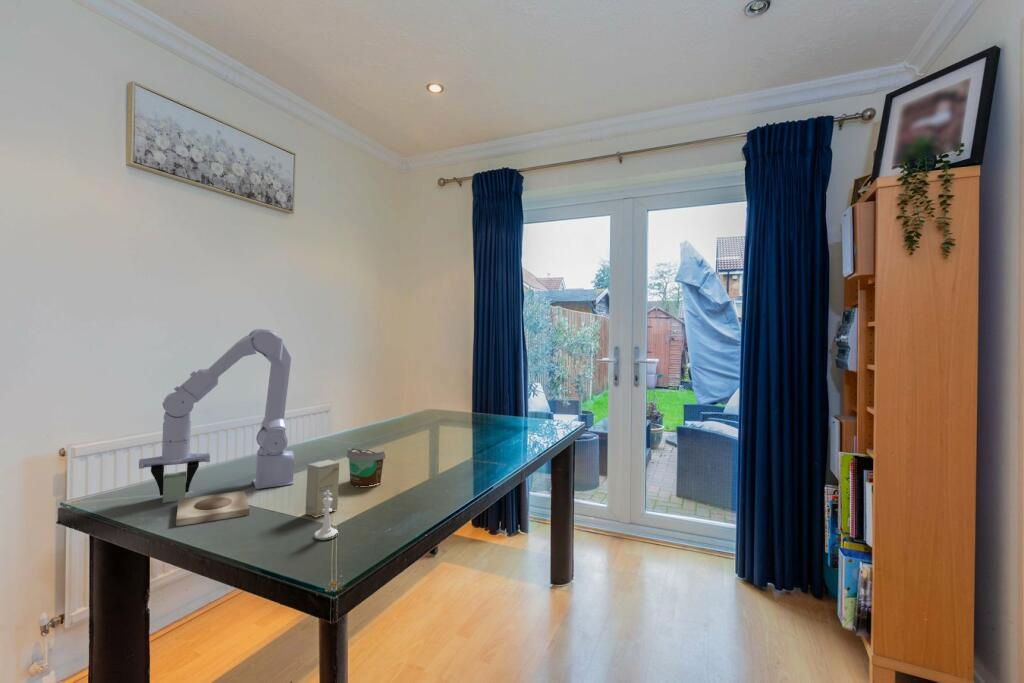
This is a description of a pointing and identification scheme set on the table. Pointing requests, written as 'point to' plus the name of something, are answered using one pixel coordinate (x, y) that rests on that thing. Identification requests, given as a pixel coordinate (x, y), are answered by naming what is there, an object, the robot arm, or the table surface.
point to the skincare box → (321, 486)
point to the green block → (174, 486)
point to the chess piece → (326, 519)
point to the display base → (211, 508)
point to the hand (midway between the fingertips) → (174, 492)
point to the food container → (365, 467)
